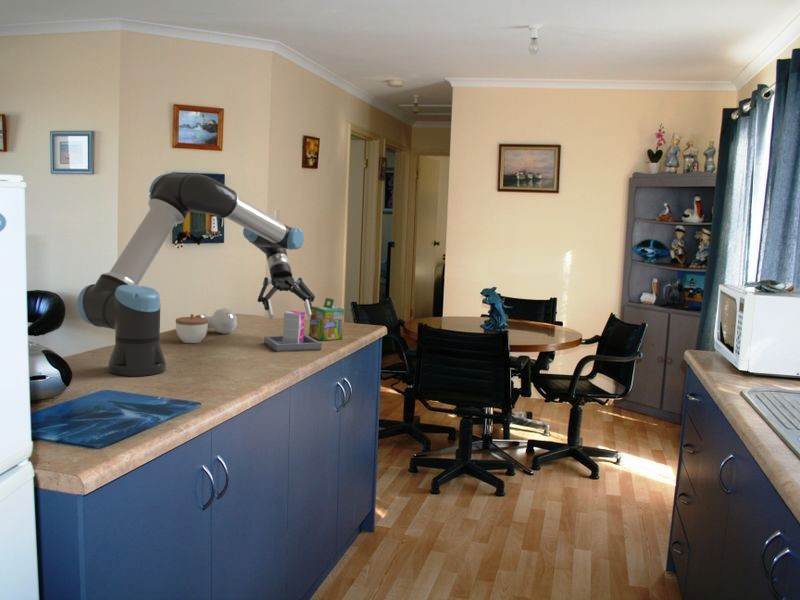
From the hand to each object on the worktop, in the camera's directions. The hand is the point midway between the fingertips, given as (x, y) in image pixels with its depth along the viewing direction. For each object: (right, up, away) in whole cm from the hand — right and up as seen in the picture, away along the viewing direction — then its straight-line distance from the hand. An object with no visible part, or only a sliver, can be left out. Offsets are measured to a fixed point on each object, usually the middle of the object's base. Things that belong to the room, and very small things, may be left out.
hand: (290, 316), depth 251 cm
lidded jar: (-34, -9, -1) cm, 35 cm away
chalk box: (+10, -9, +18) cm, 22 cm away
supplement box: (+1, -10, -1) cm, 10 cm away
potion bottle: (-30, -7, +17) cm, 35 cm away
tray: (+1, -10, -1) cm, 10 cm away
